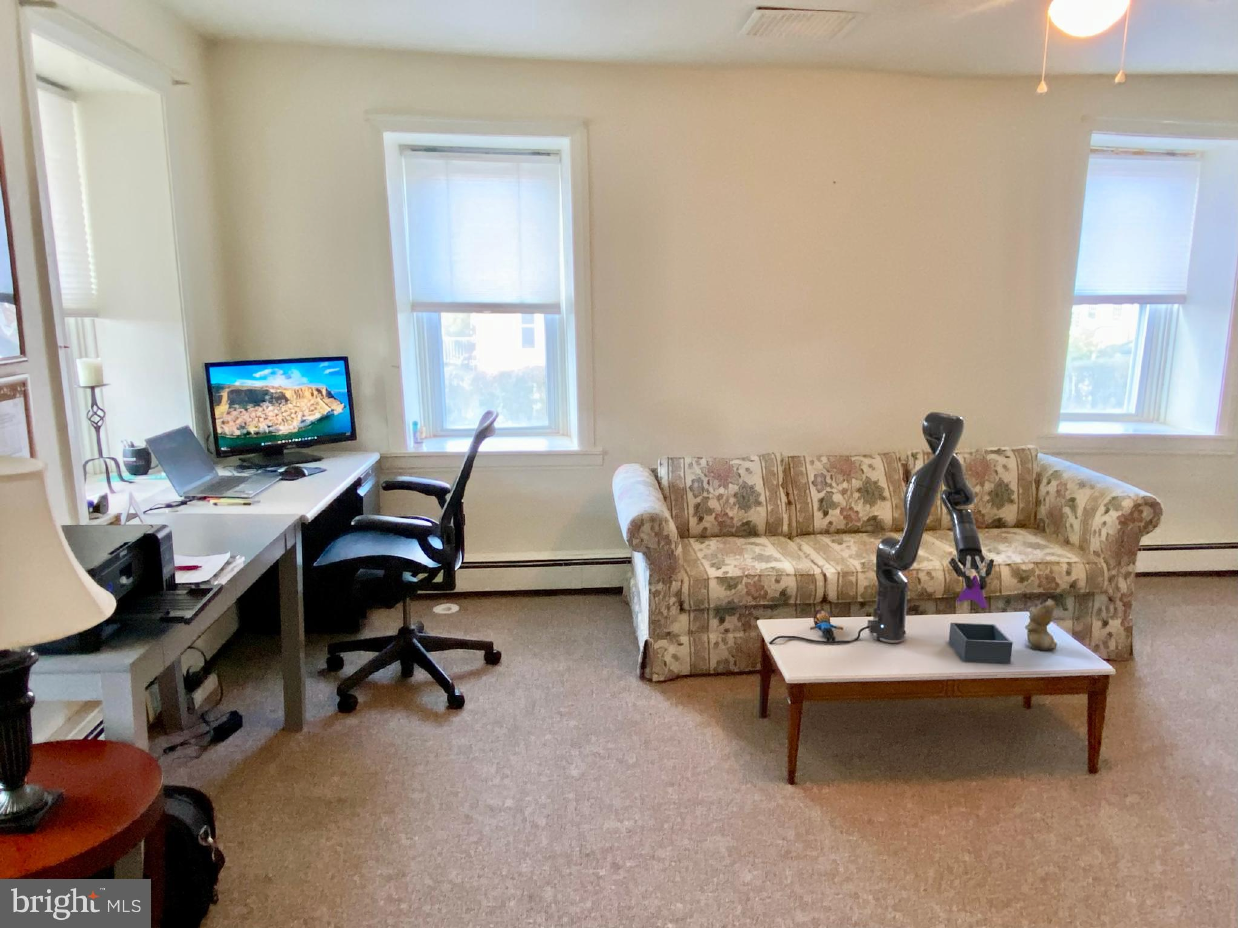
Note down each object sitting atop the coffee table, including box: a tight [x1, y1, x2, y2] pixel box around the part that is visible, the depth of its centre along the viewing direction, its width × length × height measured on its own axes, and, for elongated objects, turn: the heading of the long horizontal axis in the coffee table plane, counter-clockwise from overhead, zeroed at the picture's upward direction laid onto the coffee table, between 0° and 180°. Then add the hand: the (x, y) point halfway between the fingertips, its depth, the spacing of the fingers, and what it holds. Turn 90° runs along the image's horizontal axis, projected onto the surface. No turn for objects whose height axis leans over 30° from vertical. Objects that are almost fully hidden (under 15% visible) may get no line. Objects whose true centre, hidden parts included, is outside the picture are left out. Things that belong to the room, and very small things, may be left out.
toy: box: [809, 609, 844, 641], centre depth 248 cm, size 11×6×15 cm
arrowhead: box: [956, 574, 988, 609], centre depth 239 cm, size 10×2×10 cm
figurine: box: [1024, 598, 1058, 651], centre depth 238 cm, size 10×8×15 cm
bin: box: [948, 622, 1013, 664], centre depth 233 cm, size 14×14×7 cm
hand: (977, 588), depth 236 cm, fingers closed on arrowhead, 3 cm apart
